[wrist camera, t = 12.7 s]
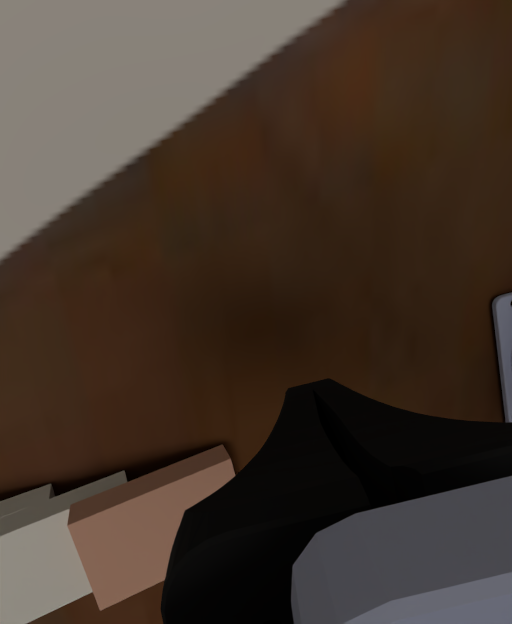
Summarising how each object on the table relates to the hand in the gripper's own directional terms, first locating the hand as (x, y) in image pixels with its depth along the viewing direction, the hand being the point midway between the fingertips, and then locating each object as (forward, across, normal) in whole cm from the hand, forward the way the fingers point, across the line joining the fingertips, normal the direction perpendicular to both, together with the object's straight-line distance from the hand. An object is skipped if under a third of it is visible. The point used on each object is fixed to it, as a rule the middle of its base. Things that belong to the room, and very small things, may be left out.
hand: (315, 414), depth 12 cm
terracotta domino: (+9, +4, +8) cm, 13 cm away
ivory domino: (+9, +10, +8) cm, 16 cm away
